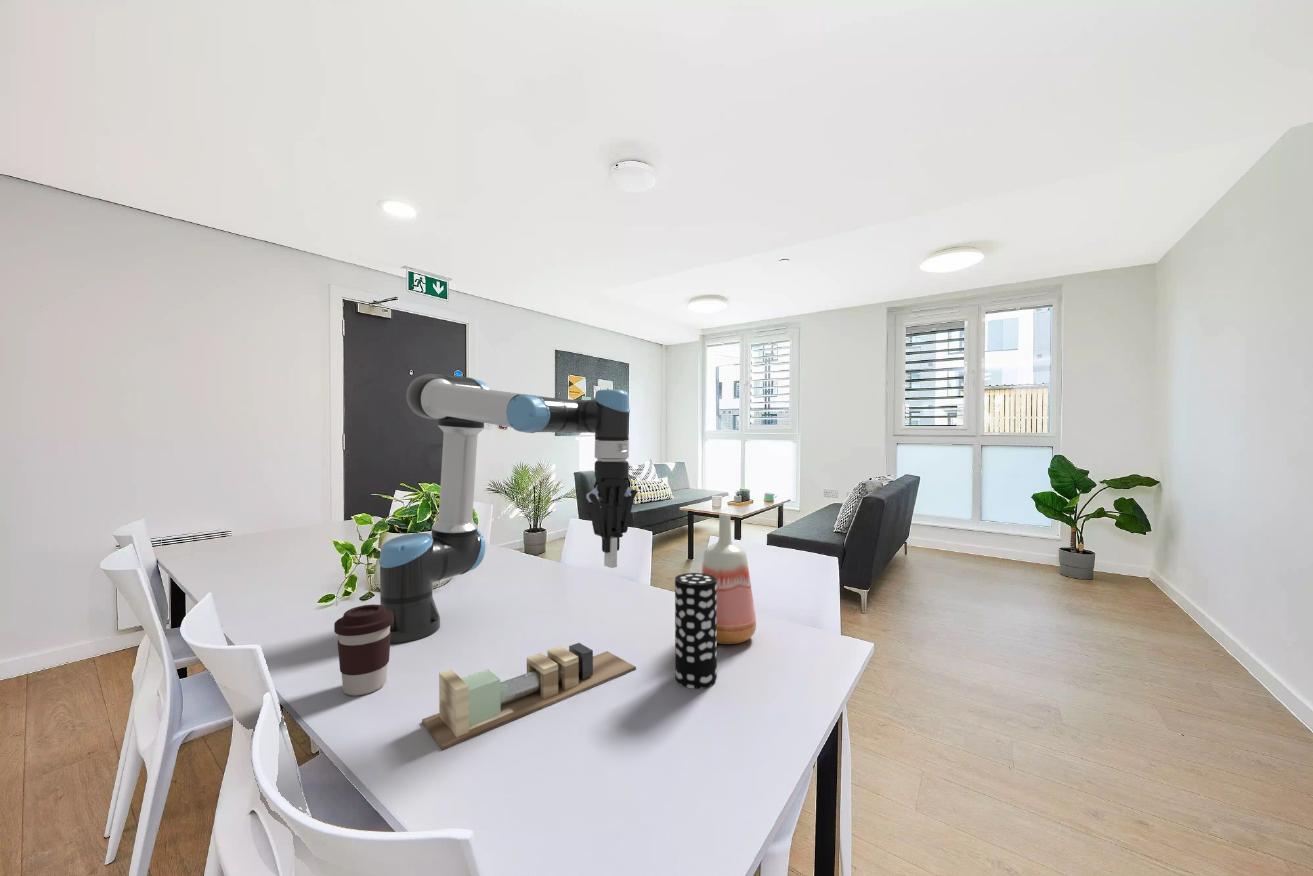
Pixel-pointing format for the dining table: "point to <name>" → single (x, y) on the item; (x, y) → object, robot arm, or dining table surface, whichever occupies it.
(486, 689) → the block
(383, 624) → the coffee cup
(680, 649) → the spotted tube
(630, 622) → the dining table surface
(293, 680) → the dining table surface
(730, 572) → the vase
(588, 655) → the shaft
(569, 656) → the jig
